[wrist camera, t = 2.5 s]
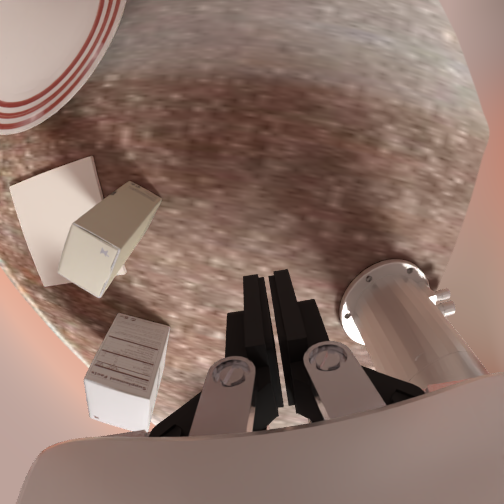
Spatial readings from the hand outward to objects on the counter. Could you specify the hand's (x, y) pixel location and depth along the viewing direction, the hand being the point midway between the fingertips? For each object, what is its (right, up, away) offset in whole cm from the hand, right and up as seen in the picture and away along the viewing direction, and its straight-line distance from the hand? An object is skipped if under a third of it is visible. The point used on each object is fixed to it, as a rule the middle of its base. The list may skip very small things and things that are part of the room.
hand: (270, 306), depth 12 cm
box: (-13, +7, +21) cm, 26 cm away
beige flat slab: (-23, +5, +21) cm, 32 cm away
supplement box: (-15, -9, +28) cm, 33 cm away
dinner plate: (-26, +29, +11) cm, 40 cm away
